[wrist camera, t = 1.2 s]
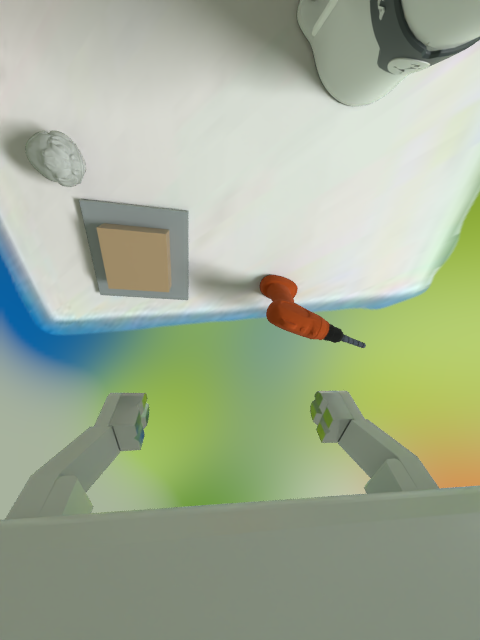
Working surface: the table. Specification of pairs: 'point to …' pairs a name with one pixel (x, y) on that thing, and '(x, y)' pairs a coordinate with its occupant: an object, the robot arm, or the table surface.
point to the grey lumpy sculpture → (56, 157)
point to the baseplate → (141, 219)
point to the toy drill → (297, 313)
